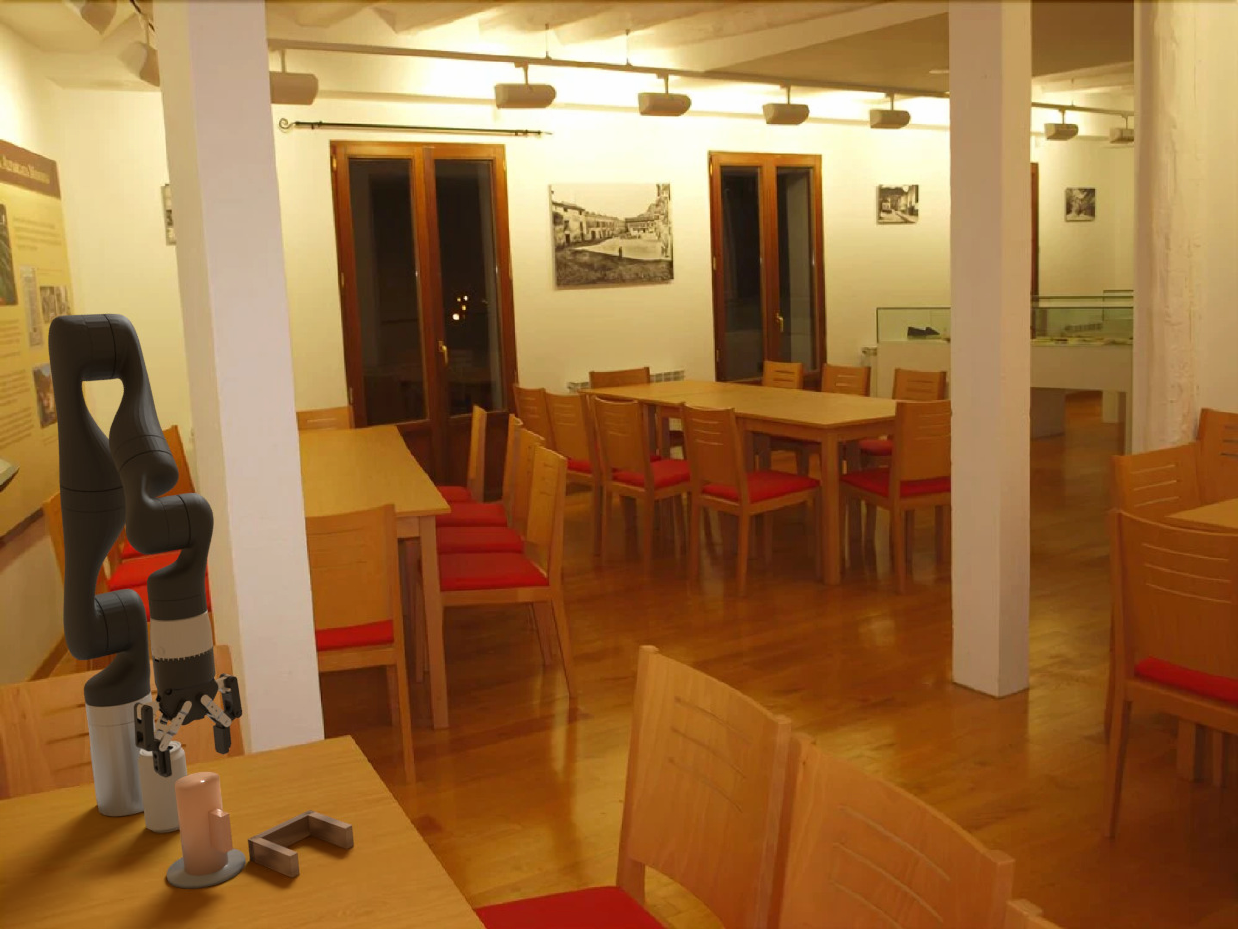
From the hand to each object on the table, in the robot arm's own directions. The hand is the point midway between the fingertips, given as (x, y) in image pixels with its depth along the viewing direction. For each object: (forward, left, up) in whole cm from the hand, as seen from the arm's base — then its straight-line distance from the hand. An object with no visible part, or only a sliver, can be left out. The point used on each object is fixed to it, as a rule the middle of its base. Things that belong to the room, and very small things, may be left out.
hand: (194, 764), depth 154 cm
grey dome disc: (0, 0, -15) cm, 15 cm away
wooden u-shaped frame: (+8, +10, -15) cm, 20 cm away
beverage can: (-17, +5, -15) cm, 23 cm away
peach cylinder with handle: (+2, 0, -14) cm, 14 cm away
